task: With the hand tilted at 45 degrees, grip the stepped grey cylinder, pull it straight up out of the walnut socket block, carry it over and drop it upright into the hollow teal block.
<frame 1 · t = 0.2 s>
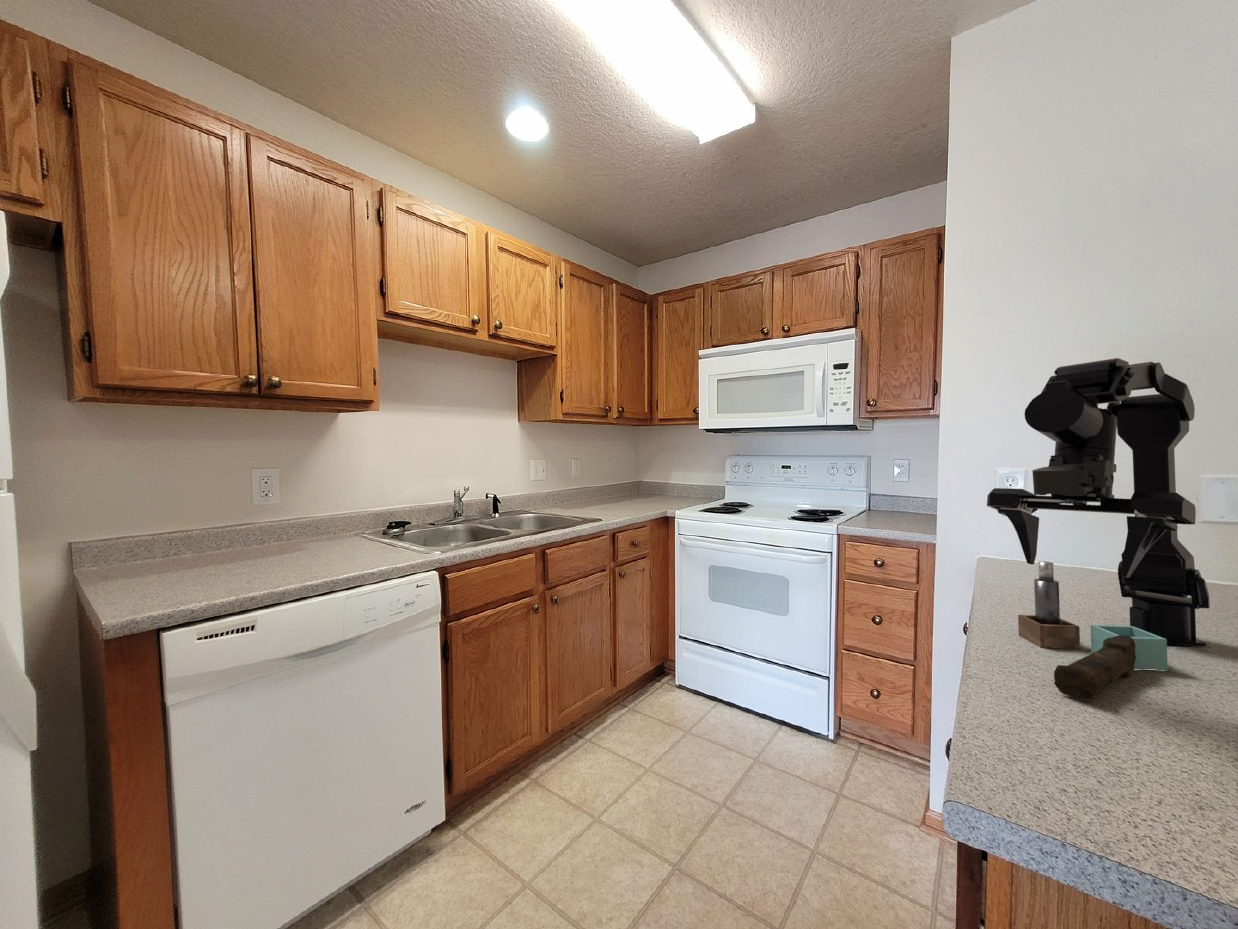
hand: (1074, 570, 61), 16 cm above the countertop, tool pointing down, fingers open, 9 cm apart
hollow teal block: (1127, 662, 69), on the countertop
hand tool: (1099, 680, 64), on the countertop, touching hollow teal block
socket block: (1048, 641, 77), on the countertop
stepped grey cylinder: (1048, 642, 77), resting in socket block
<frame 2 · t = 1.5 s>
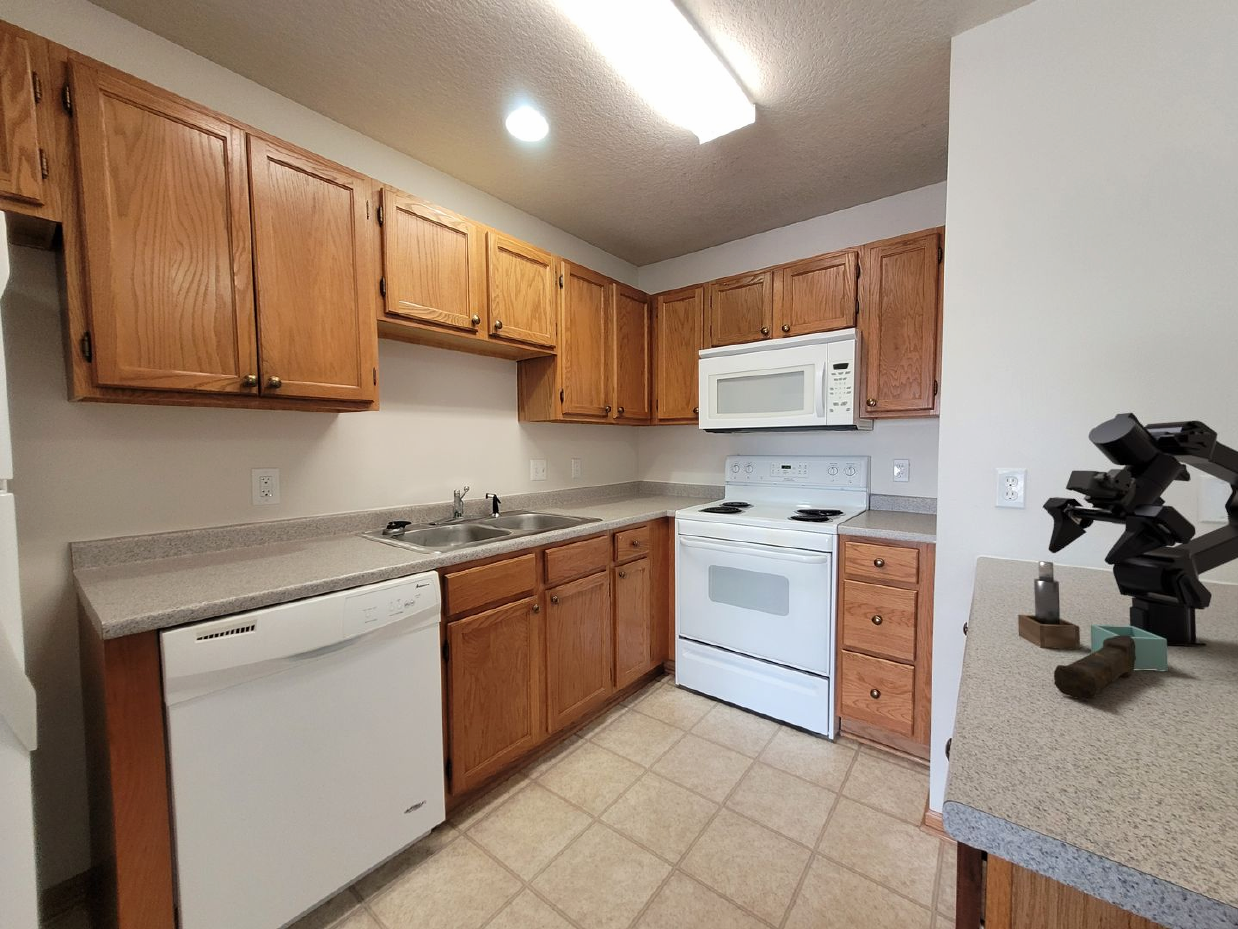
hand: (1077, 556, 77), 14 cm above the countertop, tool tilted 40°, fingers open, 9 cm apart
nothing on the countertop moved.
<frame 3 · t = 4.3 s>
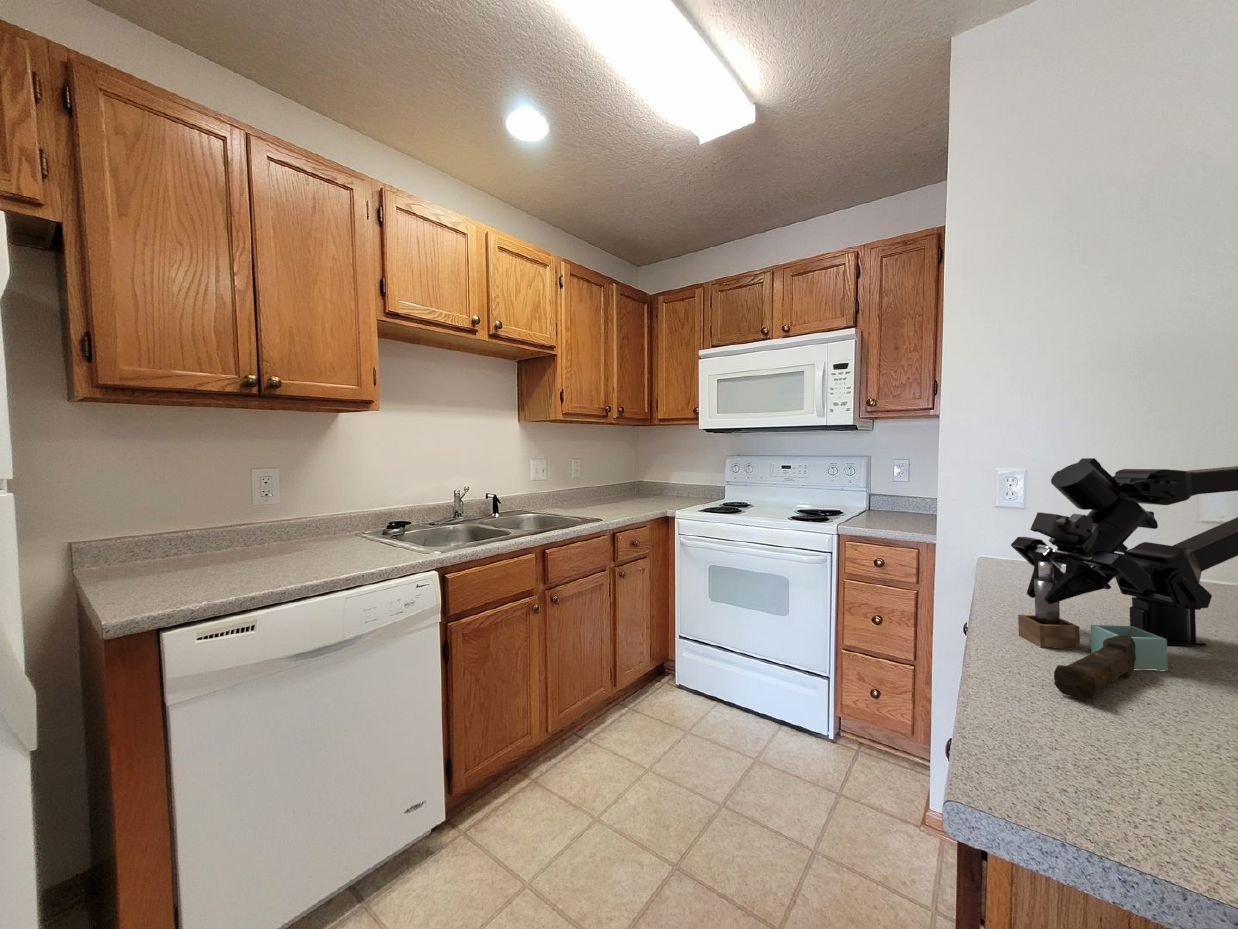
hand: (1038, 598, 77), 7 cm above the countertop, tool tilted 45°, fingers closed on stepped grey cylinder, 3 cm apart
stepped grey cylinder: (1048, 642, 77), resting in socket block, touching gripper
everything else where it was.
when the fingers open (8 cm above the countertop, at t = 8.3 s): stepped grey cylinder stays where it is, resting in hollow teal block.
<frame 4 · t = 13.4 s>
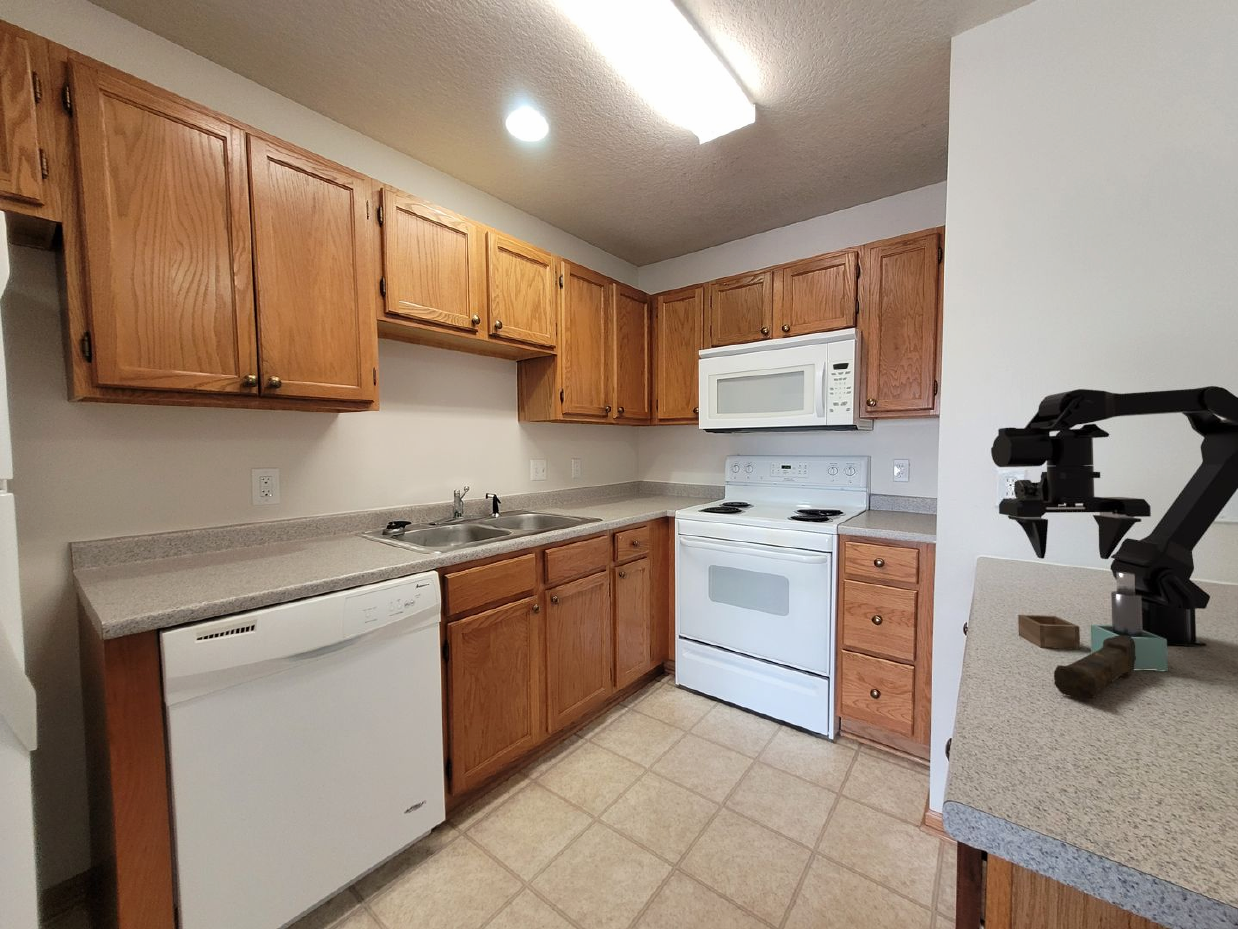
hand: (1072, 558, 80), 13 cm above the countertop, tool pointing down, fingers open, 9 cm apart
stepped grey cylinder: (1127, 662, 69), resting in hollow teal block
everything else where it was.
at the end: stepped grey cylinder 0.0 cm off-centre on the hollow teal block, point 0.0 cm above the hollow teal block's base; stepped grey cylinder tilted 0°; the gripper is holding nothing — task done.
